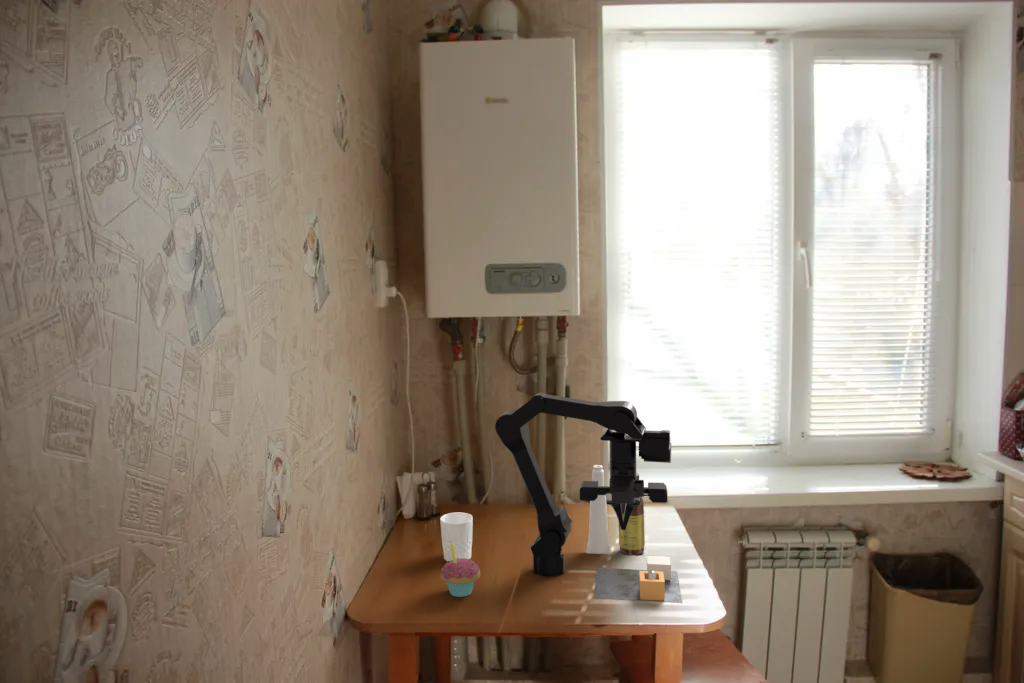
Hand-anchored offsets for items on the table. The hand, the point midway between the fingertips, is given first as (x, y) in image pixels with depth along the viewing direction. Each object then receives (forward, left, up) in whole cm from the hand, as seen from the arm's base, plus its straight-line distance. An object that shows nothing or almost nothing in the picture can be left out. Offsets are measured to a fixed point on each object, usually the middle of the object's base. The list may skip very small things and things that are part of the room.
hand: (623, 529), depth 157 cm
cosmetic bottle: (-6, +16, -13) cm, 21 cm away
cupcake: (-35, -8, -13) cm, 38 cm away
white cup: (-40, +10, -13) cm, 43 cm away
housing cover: (+8, +2, -11) cm, 14 cm away
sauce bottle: (+2, +18, -13) cm, 22 cm away
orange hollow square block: (+6, -7, -11) cm, 15 cm away
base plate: (+3, -3, -12) cm, 13 cm away
